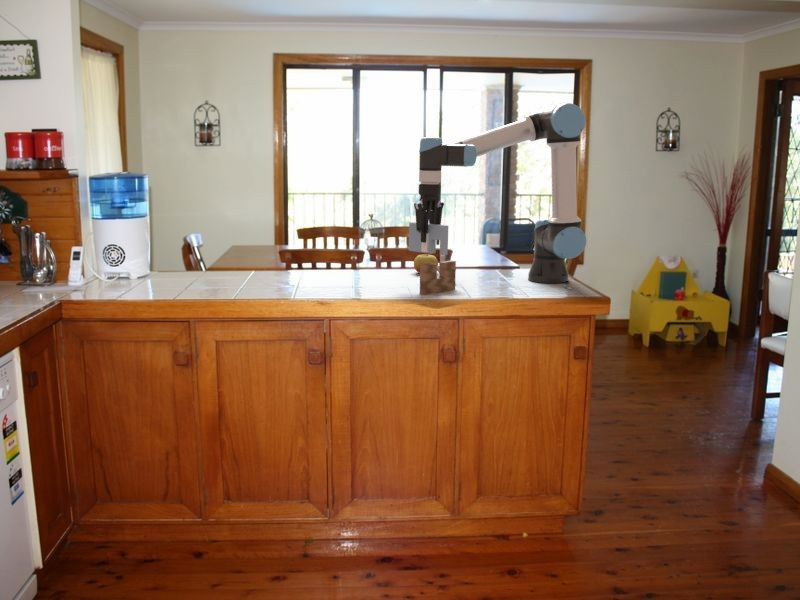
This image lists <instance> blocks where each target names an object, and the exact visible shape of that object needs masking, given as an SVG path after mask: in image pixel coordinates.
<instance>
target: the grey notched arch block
mask: <svg viewBox="0 0 800 600" xmlns="http://www.w3.org/2000/svg"><path fill="white" fill-rule="evenodd" d="M408 224H409V225H408V226H409V227H408V228H409V229H408V230H409V231H408V251H409V252H415V253H423V254H428V255H432V254H436V251H437V250H436V248H437V245H436V244H437V241H439V256H440V255H445V256H447V255H448V254H449V253H448V250H449V249H448V247H449V225H445V224H441V225H437V224H429V223H428V231H427V233H429V252H421V244H422V242H421V233H419V232H418V231H417V230H416V221H412V222H409V223H408Z"/></svg>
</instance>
